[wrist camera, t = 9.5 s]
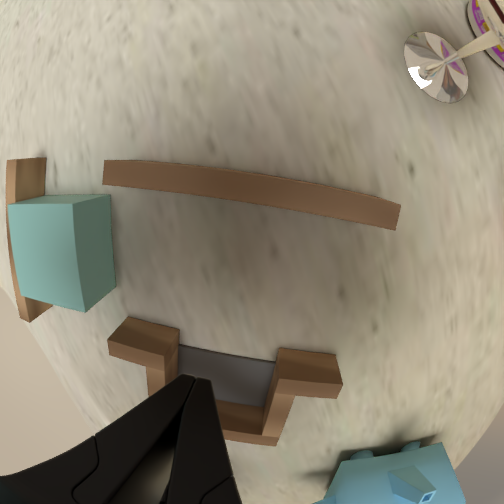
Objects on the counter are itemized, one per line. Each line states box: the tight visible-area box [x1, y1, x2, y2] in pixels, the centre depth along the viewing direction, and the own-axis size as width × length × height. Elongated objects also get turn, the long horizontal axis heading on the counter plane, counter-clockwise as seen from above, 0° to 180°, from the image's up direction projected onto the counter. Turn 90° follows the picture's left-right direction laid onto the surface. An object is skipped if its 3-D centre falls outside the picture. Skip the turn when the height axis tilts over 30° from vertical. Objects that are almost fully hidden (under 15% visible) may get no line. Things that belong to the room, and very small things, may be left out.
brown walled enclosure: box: [6, 158, 401, 446], centre depth 16 cm, size 17×23×3 cm
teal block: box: [7, 194, 116, 313], centre depth 15 cm, size 6×6×4 cm
